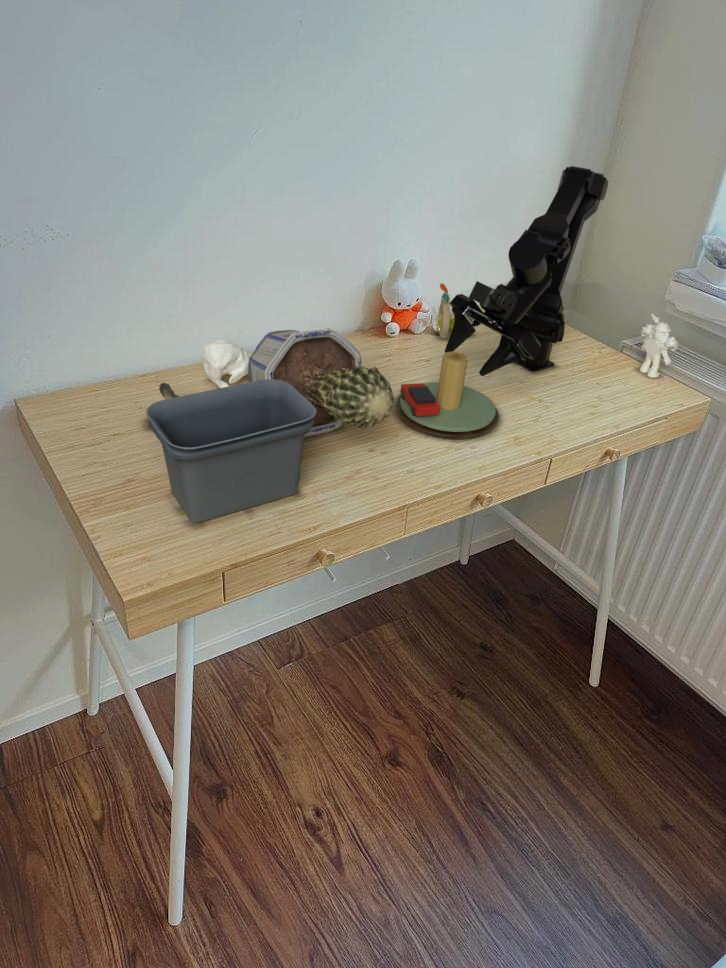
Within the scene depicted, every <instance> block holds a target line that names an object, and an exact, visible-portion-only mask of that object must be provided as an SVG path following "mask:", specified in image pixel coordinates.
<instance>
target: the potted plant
mask: <svg viewBox="0 0 726 968" xmlns="http://www.w3.org/2000/svg"><path fill="white" fill-rule="evenodd" d="M251 354H252V355H251V357H250V358H249V362H248V375H247V376H248V382H253V381H259V380H266V379H274V380H281V381H285V382H287V383H289V384H290V385H292V386H293V387H294V388H295V389H296V390H297V391H298V392H299V393H300V394H302V395H303V396H304V397H305V398H306V399H307V400H308V401H309V402H310V403H311V404H312V405H313V406H314V407H315V408H316V415H315V416H314V417H313V421H314V425H313V427H312V428H311V429H310V430H308V431H306V432H305V435H304V438H308V437H313V436H318V435H320V434H326V433H329V432H332V431H335V430H337V429H340V428H341V426H342V425H343V424H346V425H347V426H351V427H352V426H354V427H357V428H360V429H366V428H368V427H372V428H373V427H375V426H377V425H378V424H380V423H382V422H384V421H385V420H386V419H387V418H390V413H391V412H392V411H393V409H394V407H393V405H394V403H396V399H395V397H394V392H393V390H392V387H391V384H390V381H388V380H387V378H386V377H384V375H383V374H382V373H381V372H380V371H379V368H378V367H377V366H374V367H371V368H369V367H365V366H364V365H363V364H362V358H361V357H362V356H361V352H360V351H359V349H358V348H357V347H356V346H355V345H354V344H353V343H351V342H350V341H349V340H348V339H347V338H346V337H344V336H343V335H341V334H340V333H338V332H337V331H335V330H334V329H331V328H327V327H326V328H321V329H312V330H302V331H300V330H296V329H285V330H284V329H283V330H273V331H269V332H267V333H266V334H264V336H263V337H262V339H261V340H260V341H259V343H257V345H256V347H255V349H254V351H253V352H252V353H251Z"/></svg>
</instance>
